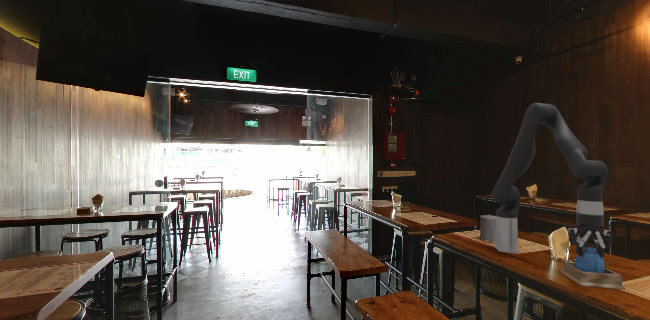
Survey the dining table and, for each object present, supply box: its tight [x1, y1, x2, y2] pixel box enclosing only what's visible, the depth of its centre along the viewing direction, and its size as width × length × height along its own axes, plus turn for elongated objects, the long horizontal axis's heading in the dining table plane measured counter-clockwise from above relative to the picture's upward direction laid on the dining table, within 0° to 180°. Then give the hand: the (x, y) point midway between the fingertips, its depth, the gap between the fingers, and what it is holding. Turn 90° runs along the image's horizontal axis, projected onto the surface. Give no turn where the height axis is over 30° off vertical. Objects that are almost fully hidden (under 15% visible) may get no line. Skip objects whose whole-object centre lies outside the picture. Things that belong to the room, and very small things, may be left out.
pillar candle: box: [479, 214, 496, 241], centre depth 162 cm, size 10×10×15 cm
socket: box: [560, 261, 626, 290], centre depth 107 cm, size 13×13×4 cm
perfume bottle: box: [575, 241, 605, 273], centre depth 108 cm, size 6×6×12 cm
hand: (589, 256), depth 108 cm, fingers closed on perfume bottle, 5 cm apart
